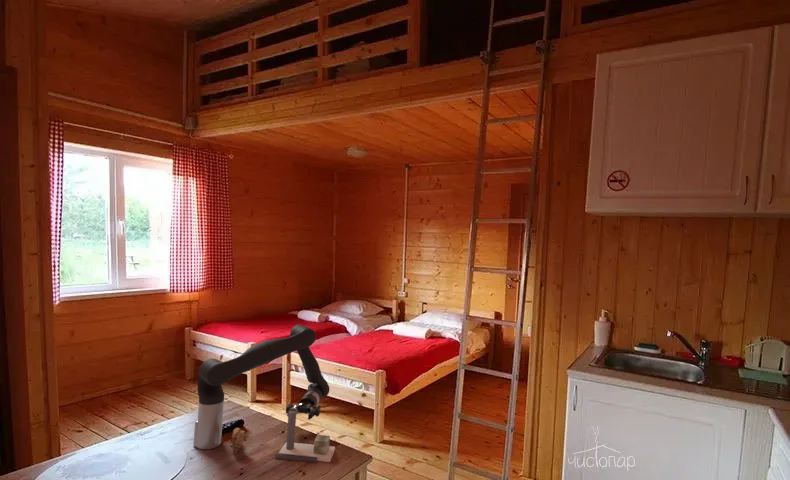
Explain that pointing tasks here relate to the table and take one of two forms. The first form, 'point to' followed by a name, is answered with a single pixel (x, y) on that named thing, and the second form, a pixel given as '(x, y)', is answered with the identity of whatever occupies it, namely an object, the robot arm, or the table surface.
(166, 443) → the table surface
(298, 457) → the guide rails
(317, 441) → the block
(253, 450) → the table surface
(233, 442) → the lion figurine
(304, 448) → the base with upright peg
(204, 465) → the table surface
